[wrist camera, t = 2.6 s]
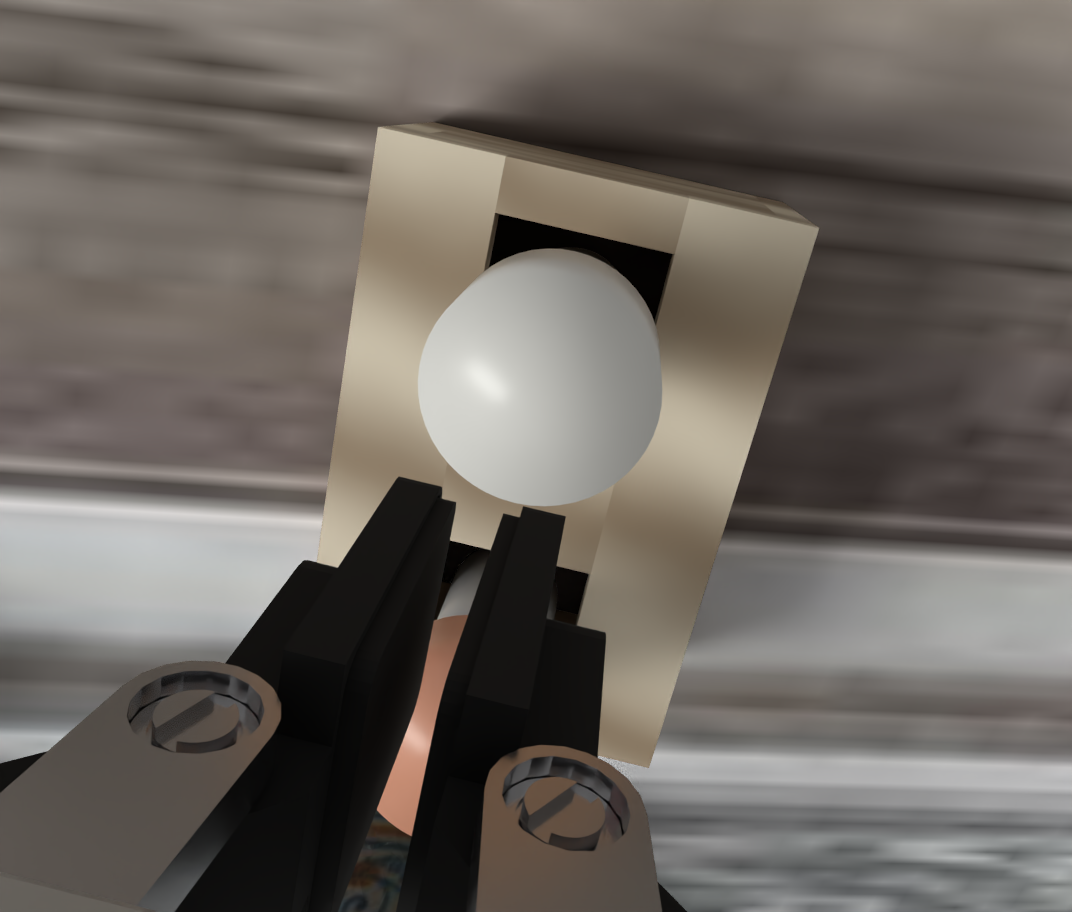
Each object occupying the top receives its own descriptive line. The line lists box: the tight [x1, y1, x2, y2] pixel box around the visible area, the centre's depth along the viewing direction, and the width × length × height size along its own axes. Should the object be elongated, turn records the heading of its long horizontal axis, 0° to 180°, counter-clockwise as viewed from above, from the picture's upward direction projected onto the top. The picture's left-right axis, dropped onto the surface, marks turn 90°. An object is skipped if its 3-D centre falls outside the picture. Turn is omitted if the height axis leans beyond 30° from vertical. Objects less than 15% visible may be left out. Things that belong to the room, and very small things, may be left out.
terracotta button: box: [377, 548, 558, 836], centre depth 28 cm, size 5×5×9 cm
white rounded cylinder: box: [418, 247, 662, 506], centre depth 24 cm, size 5×5×9 cm
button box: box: [317, 122, 819, 768], centre depth 32 cm, size 18×12×7 cm, turn 168°
